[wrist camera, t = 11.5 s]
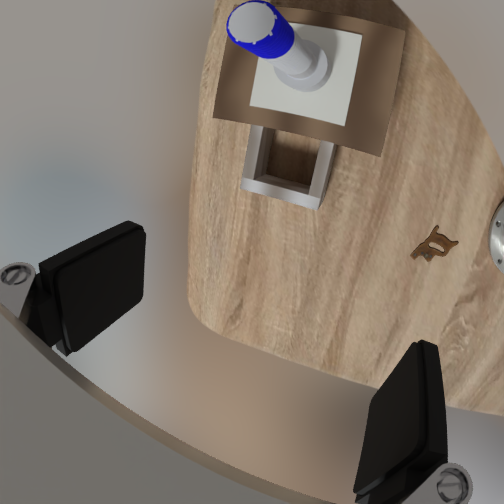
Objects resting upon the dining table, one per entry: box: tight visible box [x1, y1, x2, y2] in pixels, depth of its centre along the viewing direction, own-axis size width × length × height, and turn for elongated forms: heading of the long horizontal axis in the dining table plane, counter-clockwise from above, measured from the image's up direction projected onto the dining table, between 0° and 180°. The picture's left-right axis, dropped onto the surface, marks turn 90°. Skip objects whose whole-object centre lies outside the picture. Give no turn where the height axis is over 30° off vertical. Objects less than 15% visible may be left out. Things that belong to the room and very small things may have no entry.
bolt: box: [227, 0, 331, 92], centre depth 20 cm, size 16×5×5 cm
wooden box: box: [213, 5, 406, 210], centre depth 33 cm, size 18×22×9 cm
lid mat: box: [250, 23, 362, 126], centre depth 27 cm, size 10×10×1 cm
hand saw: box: [410, 226, 458, 262], centre depth 42 cm, size 24×5×1 cm, turn 147°
